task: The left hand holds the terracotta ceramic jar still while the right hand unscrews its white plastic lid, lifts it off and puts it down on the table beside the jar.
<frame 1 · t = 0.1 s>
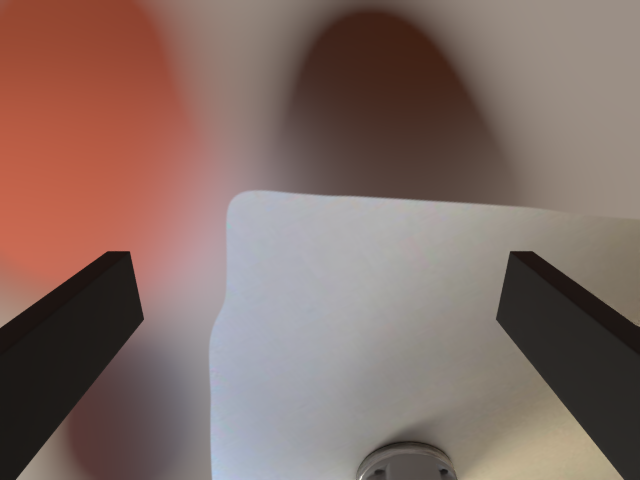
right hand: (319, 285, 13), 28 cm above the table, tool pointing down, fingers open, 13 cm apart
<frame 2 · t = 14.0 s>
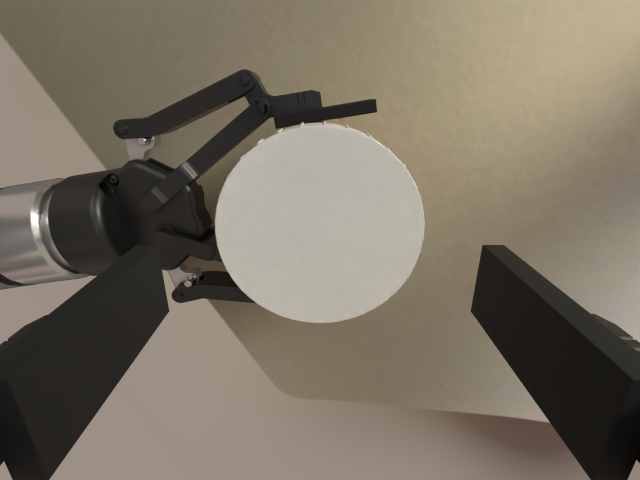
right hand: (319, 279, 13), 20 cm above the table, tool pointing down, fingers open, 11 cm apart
left hand: (380, 181, 26), fingers closed on jar, 10 cm apart
lid: (319, 232, 18), point 16 cm above the table, screwed on, not yet turned
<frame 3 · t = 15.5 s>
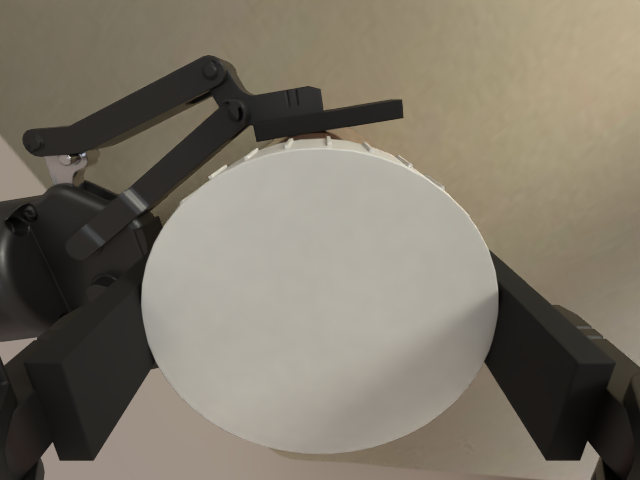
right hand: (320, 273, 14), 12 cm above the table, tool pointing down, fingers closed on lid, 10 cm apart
left hand: (404, 212, 19), fingers closed on jar, 10 cm apart
lid: (319, 321, 11), point 16 cm above the table, screwed on, not yet turned, touching right hand
jar: (320, 193, 25), on the table, touching left hand
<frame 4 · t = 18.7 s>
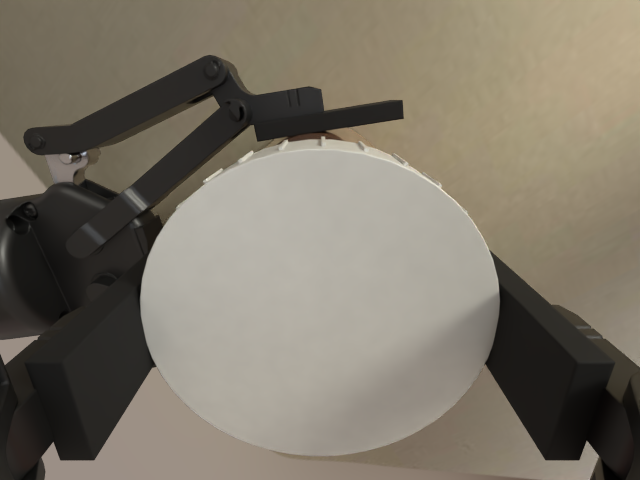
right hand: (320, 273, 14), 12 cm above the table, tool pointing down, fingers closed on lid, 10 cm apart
left hand: (404, 213, 19), fingers closed on jar, 10 cm apart
lid: (319, 323, 11), point 16 cm above the table, turned 110° so far, risen 0.1 cm, still on its thread, touching right hand
jar: (320, 193, 25), on the table, touching left hand
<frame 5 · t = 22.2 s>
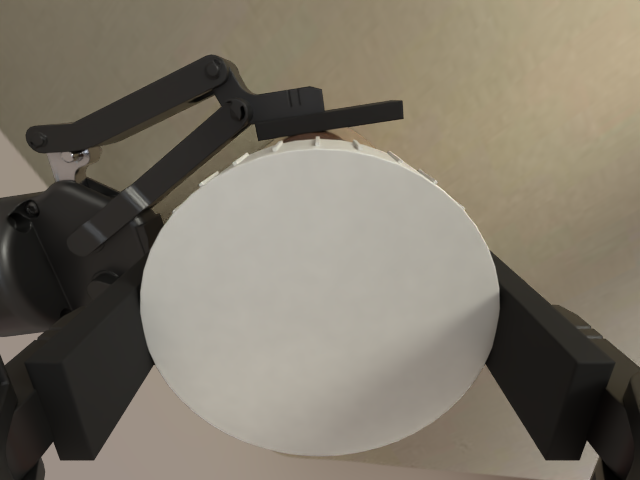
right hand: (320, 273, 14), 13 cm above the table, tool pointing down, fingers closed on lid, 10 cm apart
left hand: (403, 212, 19), fingers closed on jar, 10 cm apart
lid: (319, 323, 11), point 16 cm above the table, turned 220° so far, risen 0.3 cm, still on its thread, touching right hand
jar: (319, 193, 25), on the table, touching left hand
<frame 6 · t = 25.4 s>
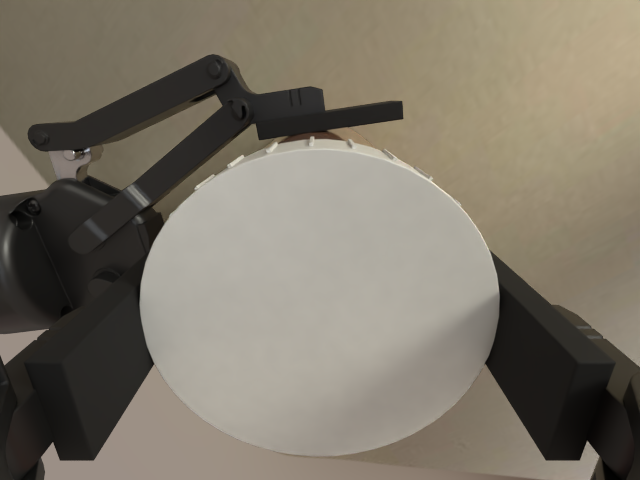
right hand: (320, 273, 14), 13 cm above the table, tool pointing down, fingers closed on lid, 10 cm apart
left hand: (402, 212, 19), fingers closed on jar, 10 cm apart
lid: (319, 323, 11), point 16 cm above the table, turned 330° so far, risen 0.4 cm, still on its thread, touching right hand
jar: (319, 192, 25), on the table, touching left hand
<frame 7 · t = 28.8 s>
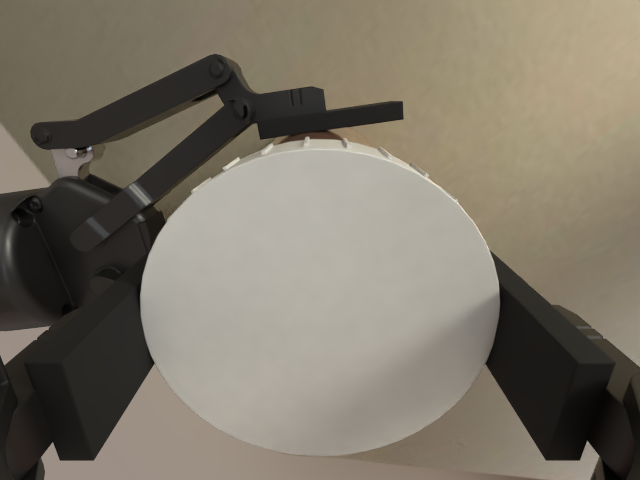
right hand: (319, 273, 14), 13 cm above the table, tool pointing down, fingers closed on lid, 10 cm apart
left hand: (402, 211, 19), fingers closed on jar, 10 cm apart
lid: (320, 323, 11), point 16 cm above the table, turned 440° so far, risen 0.5 cm, still on its thread, touching right hand
jar: (320, 192, 26), on the table, touching left hand
when the right hand's fingers open (0 cm above the table, at t = 35.2 s): lid drops 2 cm, point 2 cm above the table.
when the left hand's fingers open (7 cm above the table, at t = 36.2 s): jar stays where it is, on the table.
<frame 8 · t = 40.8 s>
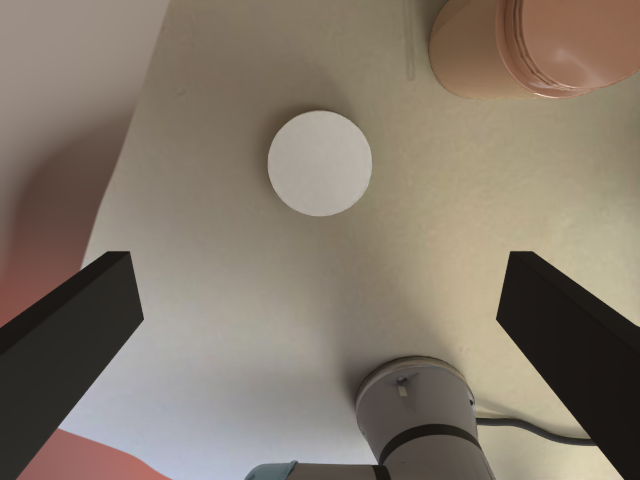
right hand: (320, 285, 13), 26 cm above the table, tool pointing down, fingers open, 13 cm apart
lid: (319, 165, 35), point 2 cm above the table, off its thread
jar: (481, 42, 33), on the table
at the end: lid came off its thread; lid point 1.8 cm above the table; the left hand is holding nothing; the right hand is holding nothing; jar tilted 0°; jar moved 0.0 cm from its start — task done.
